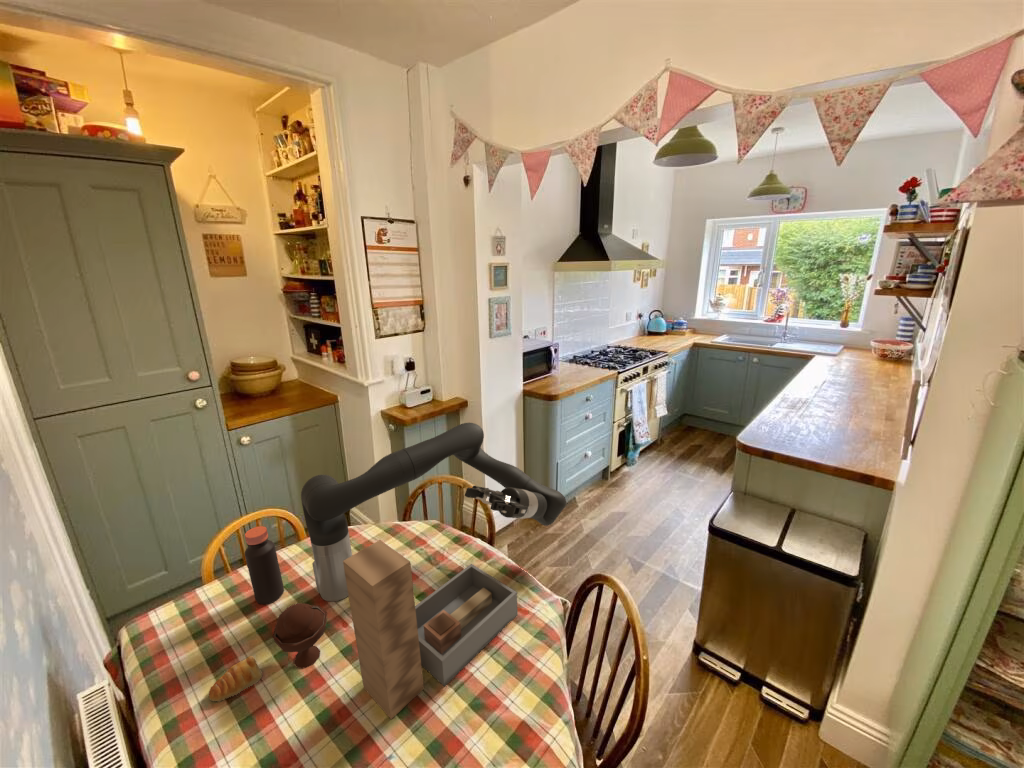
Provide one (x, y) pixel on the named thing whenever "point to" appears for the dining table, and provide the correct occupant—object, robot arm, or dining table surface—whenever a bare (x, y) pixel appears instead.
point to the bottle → (263, 566)
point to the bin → (474, 631)
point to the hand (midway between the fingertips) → (479, 498)
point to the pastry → (236, 679)
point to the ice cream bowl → (301, 632)
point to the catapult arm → (455, 621)
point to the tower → (385, 625)
